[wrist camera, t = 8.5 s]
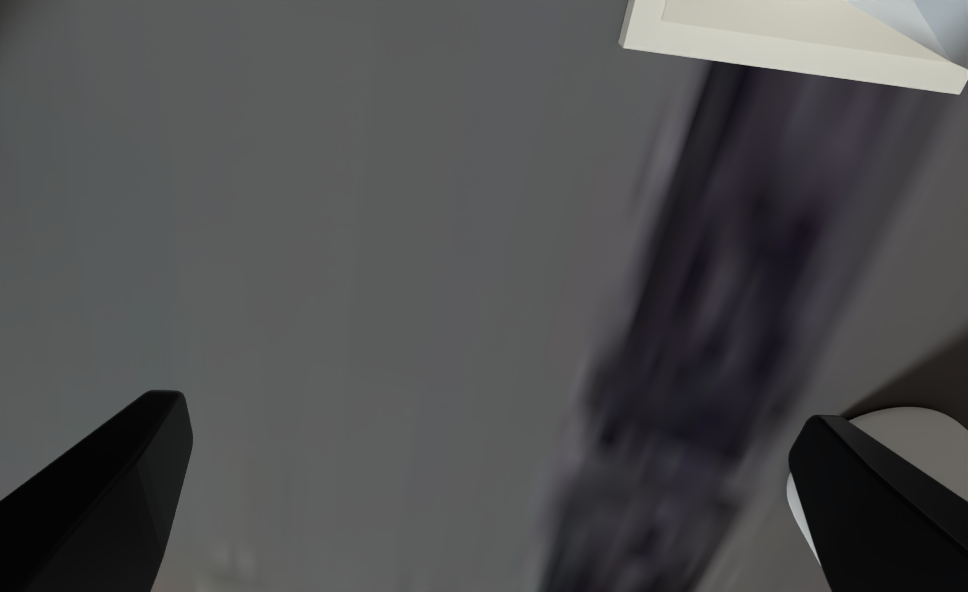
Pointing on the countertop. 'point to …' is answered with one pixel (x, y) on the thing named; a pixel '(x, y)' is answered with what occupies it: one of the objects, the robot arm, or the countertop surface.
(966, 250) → the countertop surface
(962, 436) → the pill bottle
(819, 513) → the robot arm
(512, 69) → the countertop surface
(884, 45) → the coaster
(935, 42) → the shot glass
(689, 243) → the countertop surface
